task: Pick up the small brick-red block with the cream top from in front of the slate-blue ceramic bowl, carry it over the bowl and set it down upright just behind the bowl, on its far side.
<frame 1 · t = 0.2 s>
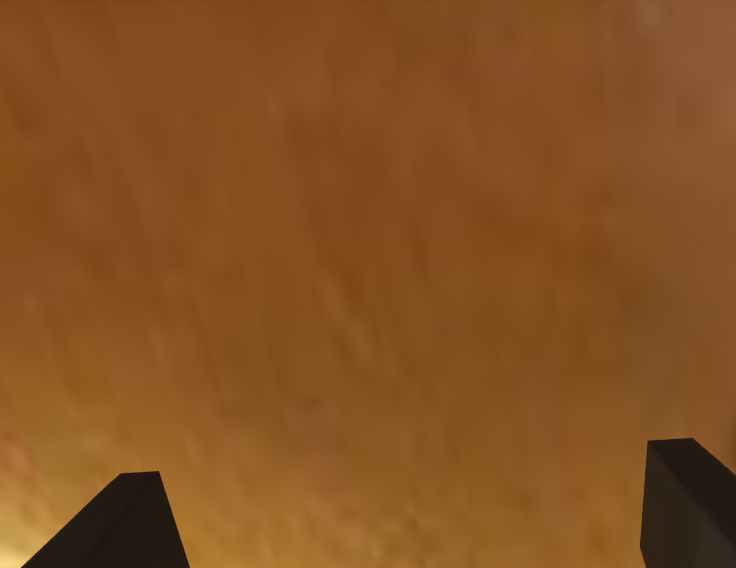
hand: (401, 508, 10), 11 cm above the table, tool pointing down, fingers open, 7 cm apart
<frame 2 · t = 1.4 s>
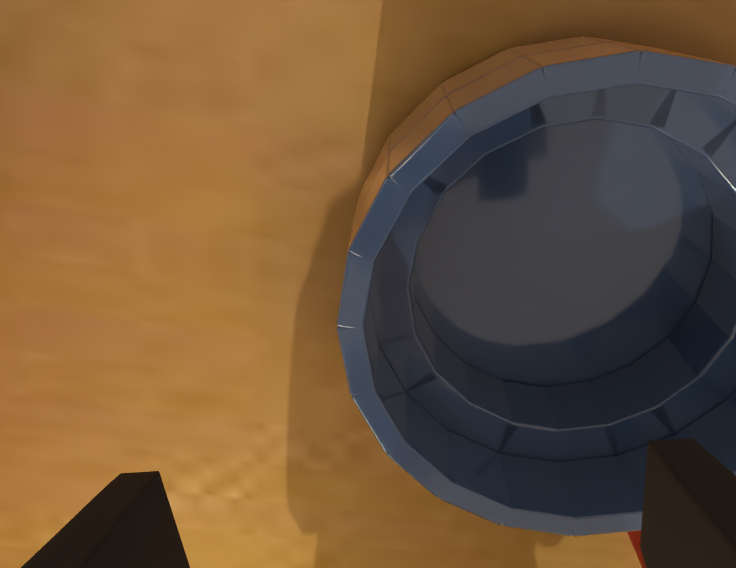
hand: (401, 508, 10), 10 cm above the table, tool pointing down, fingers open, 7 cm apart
bowl: (553, 249, 19), on the table
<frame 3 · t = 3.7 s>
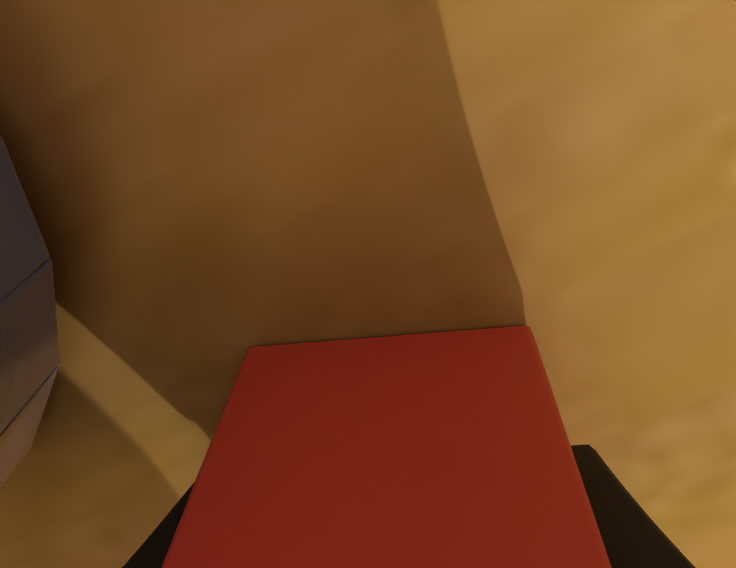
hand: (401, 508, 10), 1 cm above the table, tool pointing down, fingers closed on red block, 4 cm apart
red block: (399, 447, 11), on the table, touching gripper
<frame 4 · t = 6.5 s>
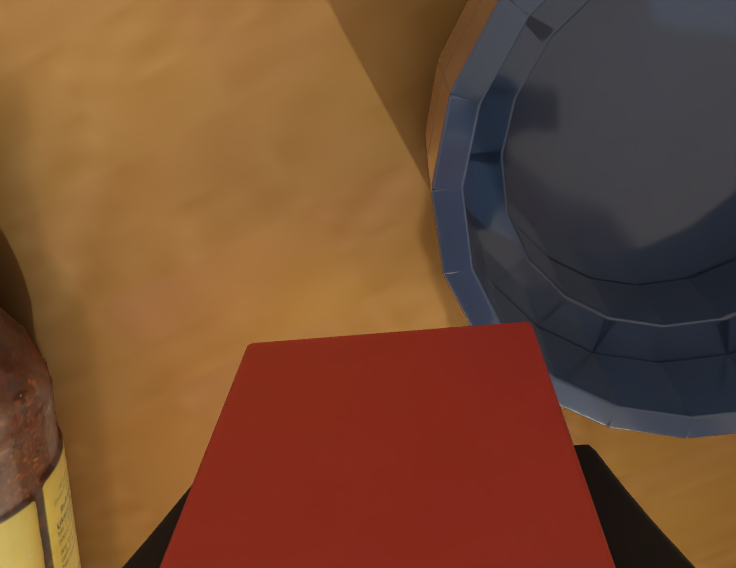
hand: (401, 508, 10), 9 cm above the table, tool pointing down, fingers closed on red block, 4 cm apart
red block: (400, 443, 11), point 8 cm above the table, touching gripper
bowl: (654, 126, 17), on the table
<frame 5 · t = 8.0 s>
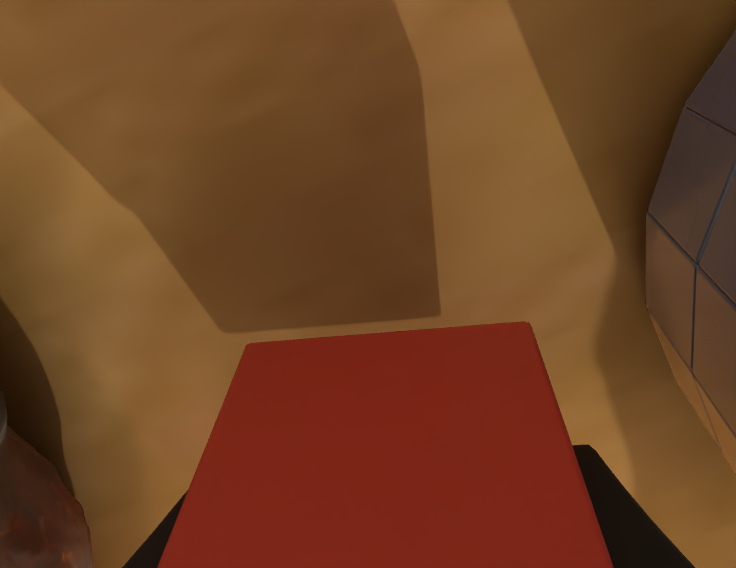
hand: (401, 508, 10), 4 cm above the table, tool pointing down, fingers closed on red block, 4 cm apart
red block: (399, 443, 11), point 2 cm above the table, touching gripper
when the fingers open (1 cm above the table, at t = 9.2 s): red block stays where it is, on the table.
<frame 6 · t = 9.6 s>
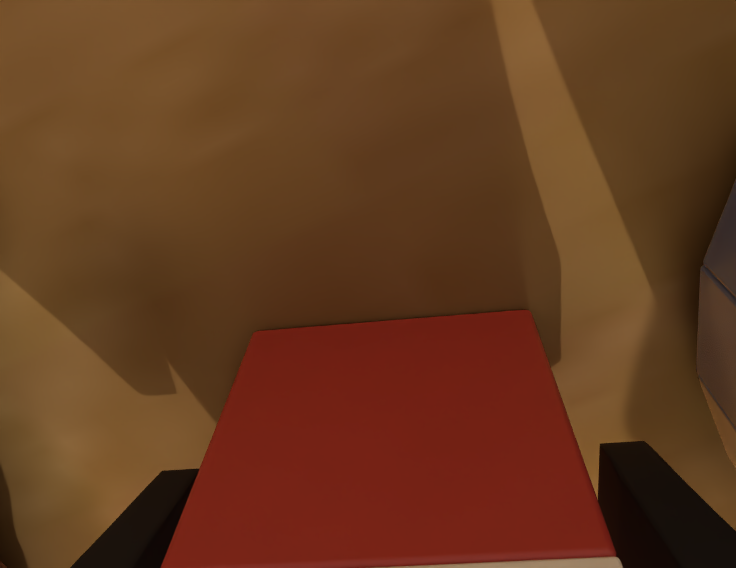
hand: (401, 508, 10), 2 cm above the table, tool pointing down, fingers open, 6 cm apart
red block: (402, 430, 12), on the table
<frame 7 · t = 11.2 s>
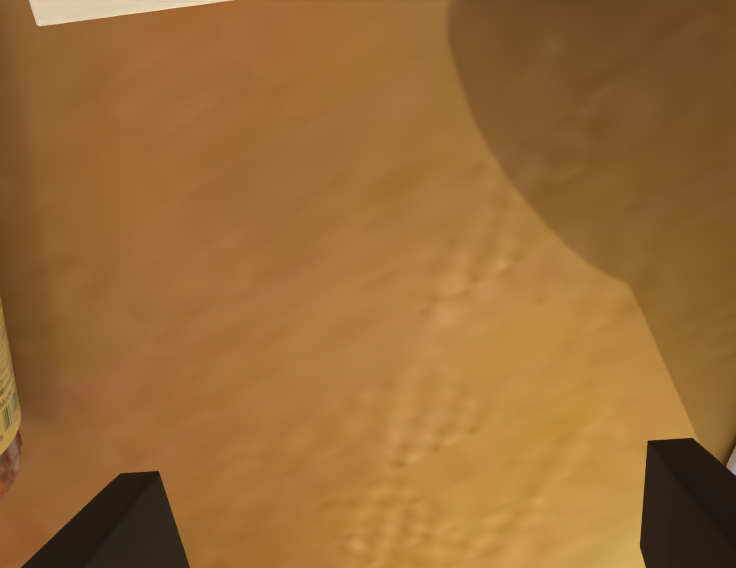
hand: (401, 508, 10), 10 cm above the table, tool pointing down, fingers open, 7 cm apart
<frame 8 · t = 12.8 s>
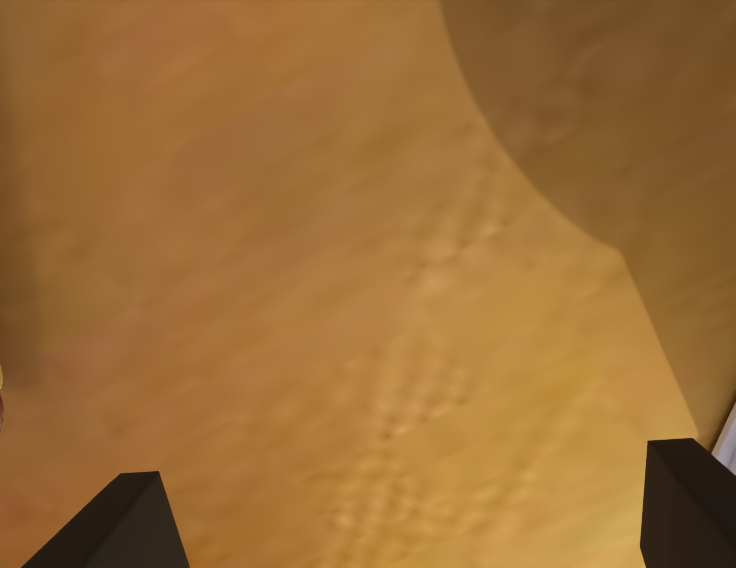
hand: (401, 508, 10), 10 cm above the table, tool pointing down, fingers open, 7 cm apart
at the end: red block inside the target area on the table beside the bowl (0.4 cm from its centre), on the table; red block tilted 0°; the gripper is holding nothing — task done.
